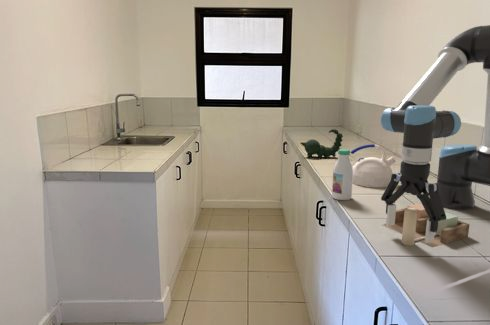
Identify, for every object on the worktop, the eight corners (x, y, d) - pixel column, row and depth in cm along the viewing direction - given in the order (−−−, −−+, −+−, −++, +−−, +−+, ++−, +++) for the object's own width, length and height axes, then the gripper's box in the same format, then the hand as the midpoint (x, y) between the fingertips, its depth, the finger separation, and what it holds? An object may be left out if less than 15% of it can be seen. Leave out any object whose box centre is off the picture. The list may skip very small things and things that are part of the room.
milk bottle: (348, 194, 158) (350, 148, 154) (353, 200, 151) (356, 151, 147) (329, 195, 158) (332, 148, 154) (334, 201, 151) (337, 151, 146)
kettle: (398, 189, 167) (401, 148, 163) (349, 186, 171) (352, 147, 167) (390, 177, 186) (393, 141, 182) (347, 175, 190) (349, 140, 186)
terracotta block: (416, 220, 128) (418, 203, 127) (429, 225, 124) (431, 208, 122) (406, 222, 126) (407, 205, 124) (418, 228, 121) (420, 210, 120)
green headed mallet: (440, 231, 120) (444, 198, 118) (455, 236, 116) (459, 202, 114) (396, 243, 112) (399, 207, 110) (410, 249, 108) (414, 213, 105)
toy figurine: (338, 158, 238) (298, 154, 240) (342, 129, 233) (302, 125, 236) (339, 162, 229) (298, 157, 231) (344, 131, 224) (302, 126, 227)
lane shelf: (415, 218, 131) (416, 205, 130) (467, 238, 115) (469, 224, 114) (381, 226, 124) (382, 213, 123) (432, 249, 108) (433, 234, 107)
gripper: (372, 155, 114) (367, 221, 119) (447, 172, 92) (438, 252, 97) (390, 152, 118) (385, 217, 122) (467, 169, 96) (457, 246, 100)
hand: (408, 233), depth 110 cm, fingers open, 13 cm apart
